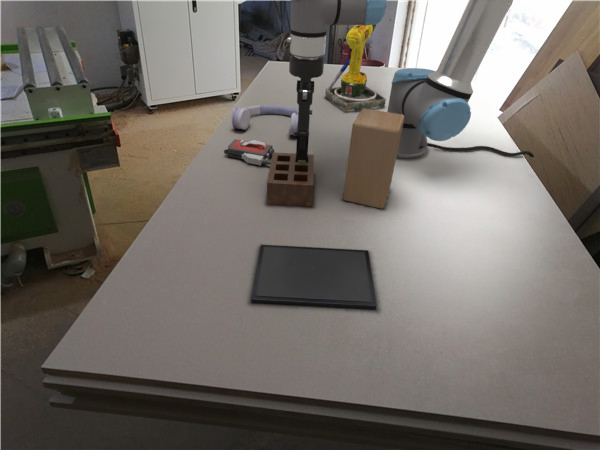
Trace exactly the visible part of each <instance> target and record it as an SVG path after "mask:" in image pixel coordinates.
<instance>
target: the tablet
mask: <svg viewBox="0 0 600 450" xmlns="http://www.w3.org/2000/svg"><path fill="white" fill-rule="evenodd" d="M370 260H371V259H370V254H369V250H367V249H352V248H351V249H350V248H348V249H347V248H334V247H333V248H331V247H312V246H294V245H275V244H260V247H259V252H258V259H257V262H256V263H257V264H256V270H255V275H254V280H253V287H252V292H251V297H250V298H251V299H250V303H252V304H253V303H254V304H271V305H290V306H291V305H292V306H308V307H325V308H326V307H327V308H341V309H342V308H345V309H362V310H363V309H365V310H377V300H376V299H377V298H376V293H375V287H374V279H373V274H372V273H373V272H372V267H371V261H370Z"/></svg>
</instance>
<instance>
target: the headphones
mask: <svg viewBox="0 0 600 450" xmlns="http://www.w3.org/2000/svg"><path fill="white" fill-rule="evenodd" d="M298 111H299V109H296V108H293V107H289V106H283V105H273V104H270V105H269V104H266V105H265V104H263V105H252V106H247V107H243V108H242V107H234V108H233V110H232V115H231V125H232V128H233V129H237V130H243V131H244V130H247V129H248V128H249V126H250V123H251V116H255V115H266V114H271V115H272V114H273V115H282V116H287V117H288V116H289V117H290V122H289V127H288V135H289V136H295V137H297V135H294V132H297V131H298Z"/></svg>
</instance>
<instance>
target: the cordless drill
mask: <svg viewBox="0 0 600 450" xmlns="http://www.w3.org/2000/svg"><path fill="white" fill-rule="evenodd" d="M376 27H377V24H374V25H366V26H364V25H353V27H352V28H350V30H349V31H348V32H347V34H346V36H345V41H346V43H347V44H348V47H349V49H351V52H350V58H348V59H347V60H346V61H345V62H344V64H343V65H342V67H341V68H340V70H339V71H338V73H337V74H336V75H335V76H334V78H333V79H332V80H331V82H330V84H329V86H328V87H327V88H325V90H324V92H325V94H324V95H325V97H324V98H325V99H328V100H330V101H331V102H332V101H333V102H335V103H336V104H337V105H338V106H339V107H341V109H343V110H344V111H346V112H347V111H352V110H354V111H361V110H362V109H363V108H365V109H372V108H385V105H386V101H387V99H386V98H385V97H384V96H383V95H382V94H380V93H378V92H377V91H375V90H373V89H371V88H370V87H368V86H367V82H368V80H367V74H366V73H365V72H363V71H361V69H362V68H361V67H362V62H363V55H364V53H365V52H364V48H365V44H366V42H367V41H368V39H369V38H370V37H371V36H372V35H373V33H374V31H375V29H376ZM347 68H348V72H347V73H345V74H343V73H344V72H345V71H346V70H347ZM341 76H342V77H341ZM340 77H341V80H340V86H337V87H335V84H336V83H337V81H338V80H339V79H340ZM341 94H342V95H341ZM362 95H365V96H368V97H367V98H360V97H361V96H362Z"/></svg>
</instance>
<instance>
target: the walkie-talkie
mask: <svg viewBox="0 0 600 450" xmlns="http://www.w3.org/2000/svg"><path fill="white" fill-rule="evenodd" d="M273 152H275V149H274V148H273V145H272V144H268V143H267V142H265V141H261V140H260V141H259V140H256V139H252V140H250V141H249V140H245V139H244V138H243V139H233V140H232V141H231V142H230V143H229V144H228V145H227V149H224V150H223V154H224V155H227V156H228V157H230V158H234V159H239V160H243V161H245V163H247V164H251V165H256V166H260V167H262V165H269V166H270V165H271V160H270V158H271V157H272V155H273Z"/></svg>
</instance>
